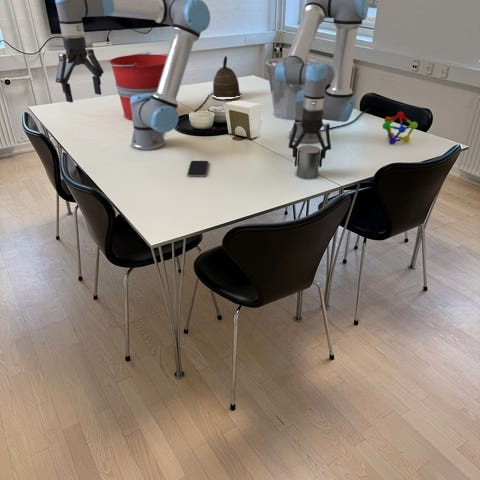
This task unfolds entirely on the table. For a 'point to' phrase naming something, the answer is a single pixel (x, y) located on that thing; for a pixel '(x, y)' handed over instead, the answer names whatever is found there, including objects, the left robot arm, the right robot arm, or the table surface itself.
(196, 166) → the smartphone
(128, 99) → the bucket
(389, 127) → the educational toy
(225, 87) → the bell
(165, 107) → the left robot arm
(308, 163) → the tin
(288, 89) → the bucket
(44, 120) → the table surface
